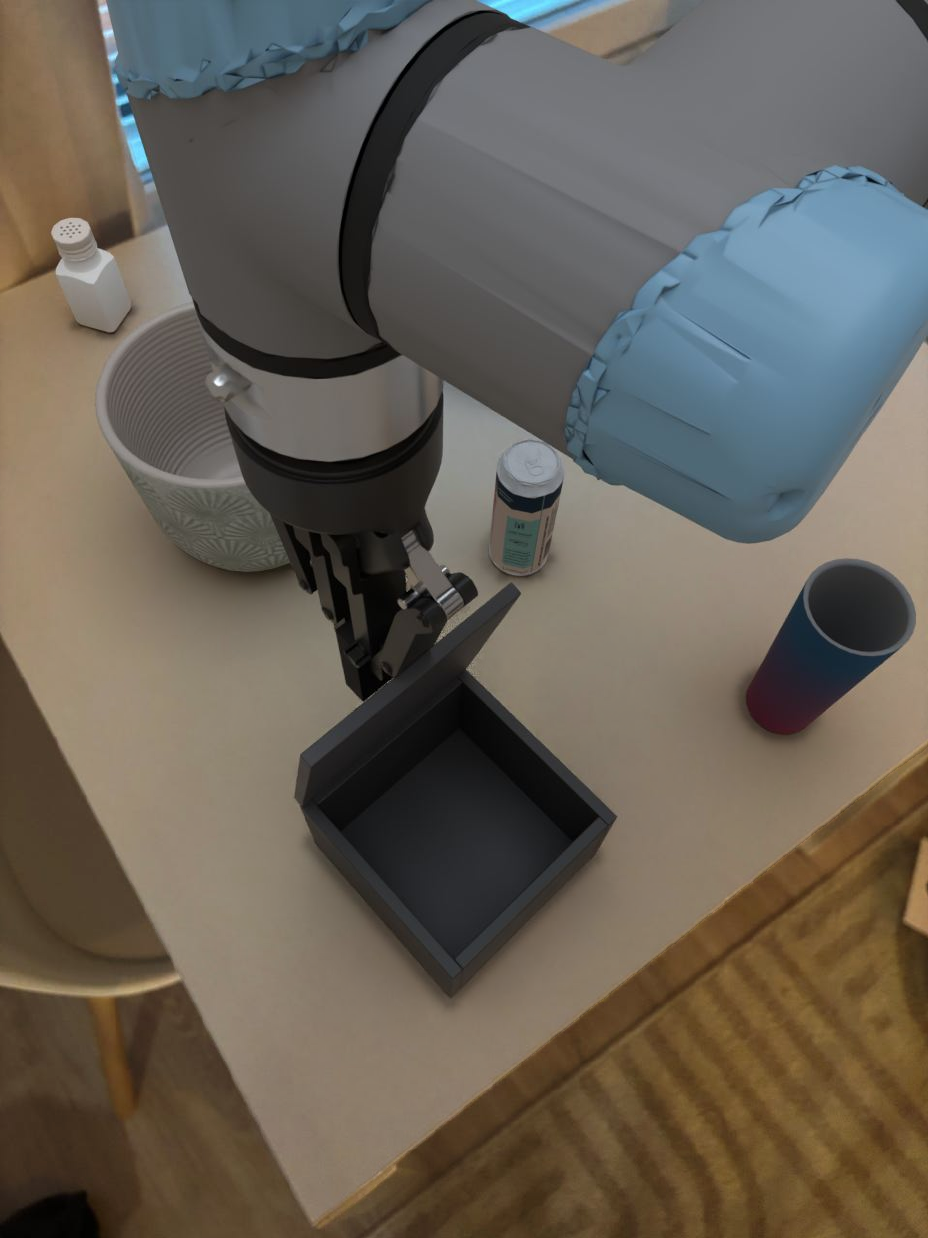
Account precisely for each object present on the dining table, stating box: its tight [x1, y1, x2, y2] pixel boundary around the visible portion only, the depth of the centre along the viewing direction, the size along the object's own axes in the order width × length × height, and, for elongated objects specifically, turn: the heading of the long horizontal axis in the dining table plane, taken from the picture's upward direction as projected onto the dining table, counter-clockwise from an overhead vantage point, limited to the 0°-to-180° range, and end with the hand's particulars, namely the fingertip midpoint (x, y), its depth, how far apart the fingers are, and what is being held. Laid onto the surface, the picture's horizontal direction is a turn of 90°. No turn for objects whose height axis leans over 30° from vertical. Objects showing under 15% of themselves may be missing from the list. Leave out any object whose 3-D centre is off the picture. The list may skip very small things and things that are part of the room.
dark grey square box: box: [299, 669, 618, 999], centre depth 61 cm, size 14×14×9 cm
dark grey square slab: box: [293, 582, 522, 806], centre depth 52 cm, size 14×14×1 cm
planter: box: [94, 301, 291, 573], centre depth 70 cm, size 17×17×15 cm
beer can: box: [488, 438, 565, 577], centre depth 71 cm, size 5×5×12 cm
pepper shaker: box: [50, 217, 132, 333], centre depth 83 cm, size 4×4×10 cm
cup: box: [745, 557, 917, 736], centre depth 64 cm, size 7×7×15 cm
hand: (373, 678), depth 53 cm, fingers closed
